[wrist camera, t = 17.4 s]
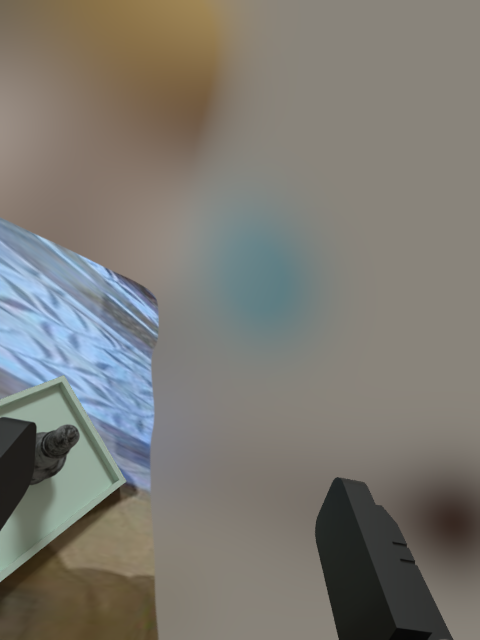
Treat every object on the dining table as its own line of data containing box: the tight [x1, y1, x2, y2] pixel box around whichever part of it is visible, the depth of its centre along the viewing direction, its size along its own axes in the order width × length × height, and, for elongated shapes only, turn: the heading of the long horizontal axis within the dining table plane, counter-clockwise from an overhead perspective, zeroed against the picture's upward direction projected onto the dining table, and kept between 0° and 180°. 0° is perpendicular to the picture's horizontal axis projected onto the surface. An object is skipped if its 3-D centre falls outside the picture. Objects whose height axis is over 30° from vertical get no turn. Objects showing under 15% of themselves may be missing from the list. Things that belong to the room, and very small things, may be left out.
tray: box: [0, 376, 126, 582], centre depth 47 cm, size 19×19×2 cm
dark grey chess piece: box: [30, 424, 80, 485], centre depth 44 cm, size 6×6×12 cm
